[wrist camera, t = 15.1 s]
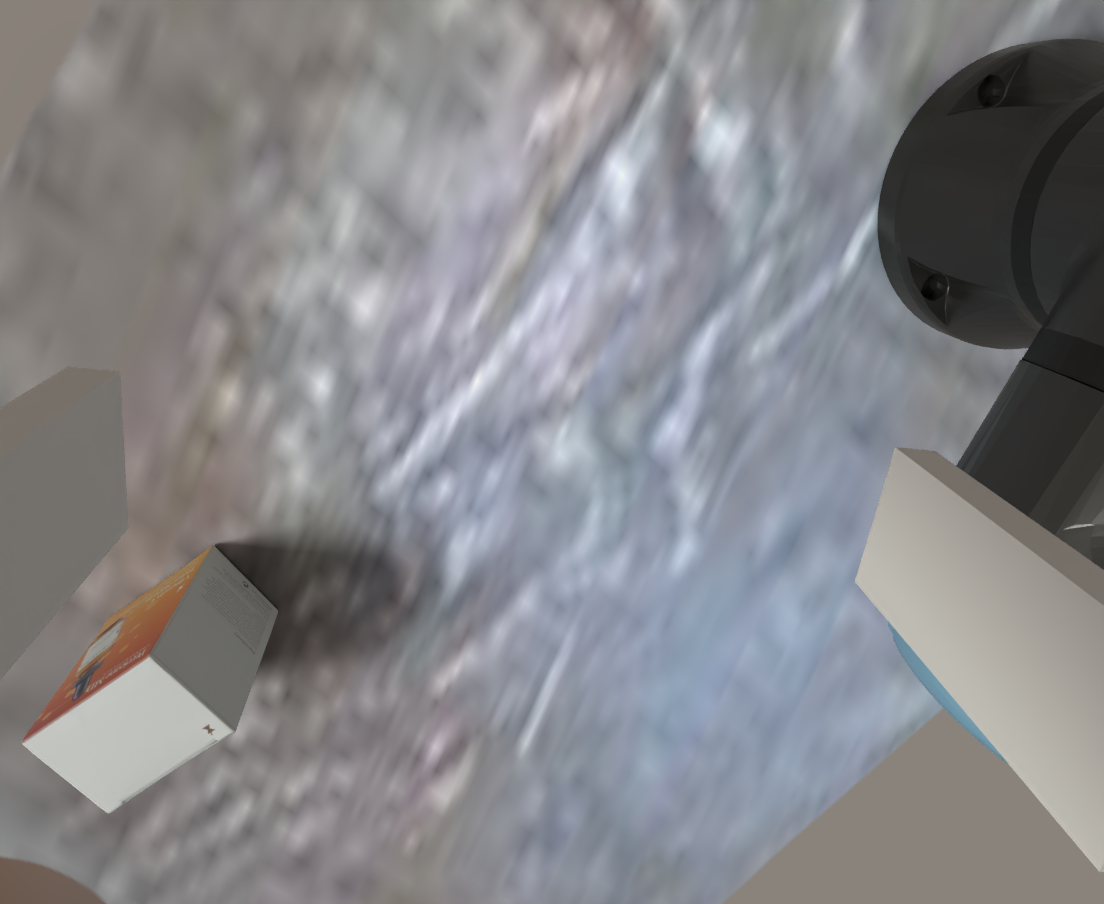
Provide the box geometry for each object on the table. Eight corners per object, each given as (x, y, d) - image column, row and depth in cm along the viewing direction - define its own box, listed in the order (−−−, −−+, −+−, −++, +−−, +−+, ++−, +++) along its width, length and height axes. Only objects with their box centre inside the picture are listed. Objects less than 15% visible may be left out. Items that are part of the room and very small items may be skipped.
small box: (215, 541, 46) (151, 651, 36) (282, 610, 48) (239, 732, 38) (104, 617, 47) (14, 744, 37) (175, 682, 49) (106, 818, 39)
